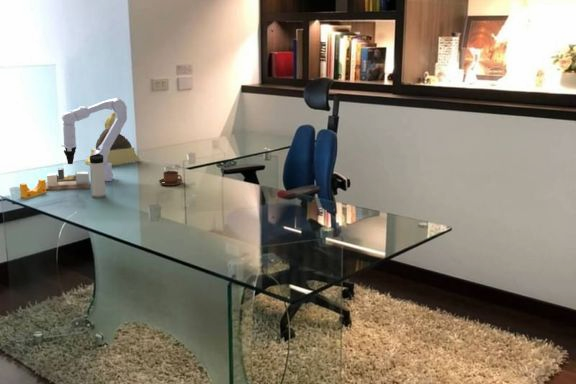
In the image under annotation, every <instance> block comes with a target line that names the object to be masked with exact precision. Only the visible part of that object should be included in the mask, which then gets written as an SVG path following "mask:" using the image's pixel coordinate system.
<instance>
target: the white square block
mask: <svg viewBox="0 0 576 384" xmlns="http://www.w3.org/2000/svg"><path fill="white" fill-rule="evenodd" d="M57 176H58V172H48V173H47V175H46V179H47V181H46V182H48V186H58V182H57Z"/></svg>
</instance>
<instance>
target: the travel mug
mask: <svg viewBox="0 0 576 384" xmlns="http://www.w3.org/2000/svg"><path fill="white" fill-rule="evenodd" d="M90 155H91V154H90ZM90 155H89V156H90ZM89 169H90V186H91V187H90V188H91V197H92V198H95V199H102V198H105V197H106V194H107V193H106V181H105V176H104V161H103V155H100V154H96V155H91V156H90V166H89Z"/></svg>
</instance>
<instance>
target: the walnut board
mask: <svg viewBox="0 0 576 384" xmlns="http://www.w3.org/2000/svg"><path fill="white" fill-rule="evenodd" d="M45 182H46V192H49V191H68V190H70V191H71V190H87V189H90V188H89V187H90V184H89V185H76V181H66V182H58V186H48V182H47V181H45Z"/></svg>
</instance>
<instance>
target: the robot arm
mask: <svg viewBox="0 0 576 384" xmlns="http://www.w3.org/2000/svg"><path fill="white" fill-rule="evenodd" d="M103 110H111V111H113V112H115V115H116V116H115V117H116V119H115V121H114V123H113V125H112V127H111V128H110V130H109V132H108V134H107V135H106V137H105V139H104V141H103V142H102V144H101V145H100V146H99V147H98V149H96V148H95V149H96V150H95V151H94V152H93V155H96V154H100V155H103V161H104V176H105V182H113V177H114V176H113V175H114V174H113V167H112V166H113V165H112V163H108V162H107V159H108V154H109V151H110V148H111V146H112V145H113V143H114V141H115V139H116V138H117V136H118V134H119V132H120V131H121V132H122V129H123V127H124V125H125V124H126V122H127V119H128V115H127V112H128V111H127V110H128V108H127V104H126V103H125V101H124V100H122V99H121V98H119V97H113V98H109V99H107V100H104V101H101V102H98V103H97V104H96V103H95V104H94V105H91V106H88V107H87V106H81V105H80V106H79V107H78V108H77V109H74V110H72V109H71V110H70V111H66V112H64V113H63V114H62V117H61V119H62V121H63V123H62V124H63V127H62V129H63V132H62V133H63V144H61V147H63V148H64V150H63V153H64V154H65V157H66V161H67V165H73V163H74V159H75V154H76V150H77V142H76V141H77V140H76V139H77V137H76V126H75V122H79V121H81V120H84V119H88V118H90V115H91V114H95V113H97V112H100V111H103ZM121 132H120V133H121Z"/></svg>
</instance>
